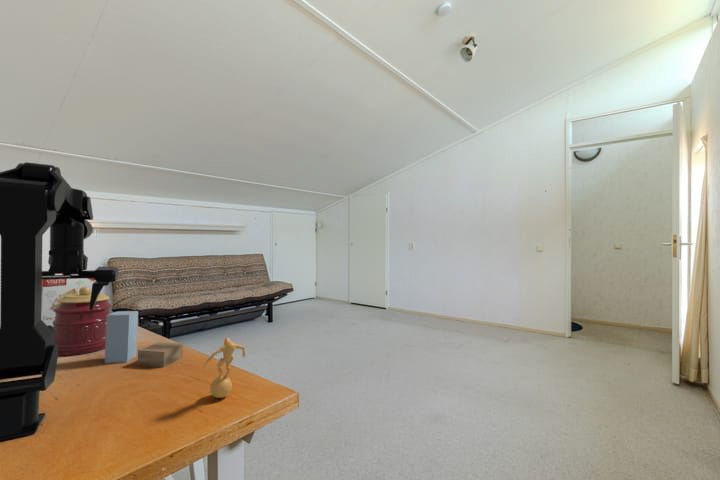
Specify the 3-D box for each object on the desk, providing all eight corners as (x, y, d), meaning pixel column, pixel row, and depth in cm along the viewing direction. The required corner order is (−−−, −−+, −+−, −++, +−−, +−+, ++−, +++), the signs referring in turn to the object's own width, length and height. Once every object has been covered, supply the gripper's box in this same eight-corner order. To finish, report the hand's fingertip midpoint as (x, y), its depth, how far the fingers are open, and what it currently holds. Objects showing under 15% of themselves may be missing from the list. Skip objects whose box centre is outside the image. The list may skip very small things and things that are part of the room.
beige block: (163, 368, 78) (164, 351, 78) (137, 366, 79) (138, 350, 79) (182, 358, 85) (183, 343, 85) (158, 357, 86) (159, 342, 86)
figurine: (235, 387, 68) (237, 330, 68) (250, 396, 64) (252, 335, 64) (194, 401, 61) (196, 338, 62) (208, 411, 57) (210, 344, 58)
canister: (78, 358, 83) (81, 290, 84) (37, 354, 85) (40, 288, 86) (122, 343, 96) (125, 285, 97) (85, 341, 98) (88, 283, 99)
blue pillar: (127, 362, 81) (129, 314, 81) (104, 363, 80) (106, 315, 80) (136, 355, 86) (138, 310, 86) (115, 356, 85) (117, 311, 85)
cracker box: (39, 346, 92) (42, 273, 93) (29, 343, 95) (32, 273, 95) (95, 335, 105) (98, 271, 106) (85, 332, 107) (88, 270, 108)
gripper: (122, 242, 85) (120, 299, 86) (24, 239, 75) (24, 304, 77) (115, 247, 75) (114, 312, 77) (2, 245, 66) (3, 319, 67)
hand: (66, 311), depth 74 cm, fingers open, 9 cm apart
